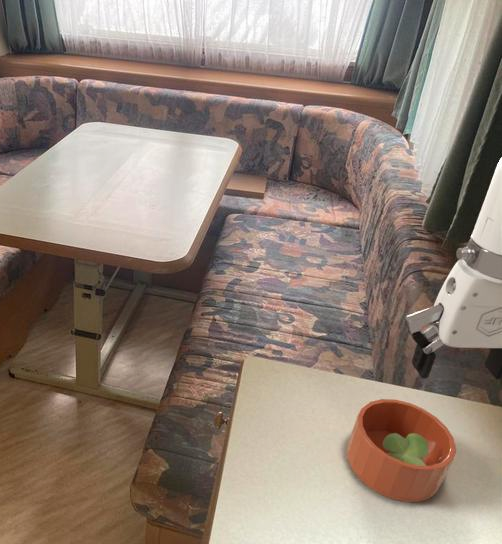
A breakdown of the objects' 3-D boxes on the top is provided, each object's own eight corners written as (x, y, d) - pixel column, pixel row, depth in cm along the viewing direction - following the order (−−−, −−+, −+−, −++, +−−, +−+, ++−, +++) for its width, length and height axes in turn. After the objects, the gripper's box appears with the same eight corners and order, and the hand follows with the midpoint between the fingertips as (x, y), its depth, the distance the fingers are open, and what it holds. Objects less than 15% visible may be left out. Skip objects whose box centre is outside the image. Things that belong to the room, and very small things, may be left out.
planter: (416, 431, 93) (430, 400, 90) (456, 503, 82) (474, 470, 78) (335, 429, 93) (345, 397, 89) (364, 501, 82) (377, 468, 78)
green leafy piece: (392, 479, 90) (402, 493, 84) (361, 435, 91) (369, 446, 85) (432, 455, 89) (446, 468, 83) (400, 411, 90) (411, 420, 84)
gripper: (443, 273, 63) (402, 390, 72) (597, 276, 64) (538, 392, 72) (414, 241, 70) (380, 352, 78) (555, 244, 70) (505, 354, 79)
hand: (456, 371), depth 75 cm, fingers open, 9 cm apart
